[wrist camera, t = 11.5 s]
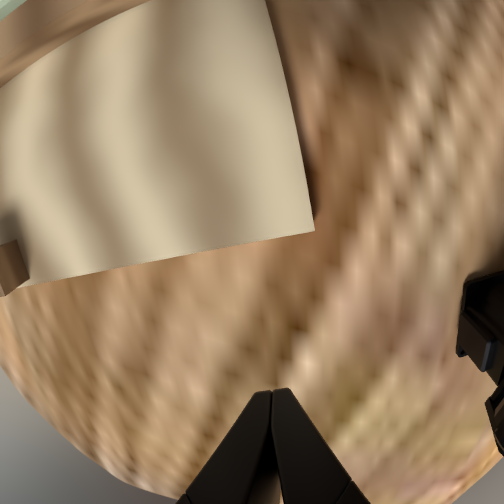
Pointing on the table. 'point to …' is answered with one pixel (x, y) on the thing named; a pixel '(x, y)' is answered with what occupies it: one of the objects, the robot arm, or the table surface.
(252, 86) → the board
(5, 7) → the socket blocks
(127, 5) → the hinged leg
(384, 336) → the table surface
